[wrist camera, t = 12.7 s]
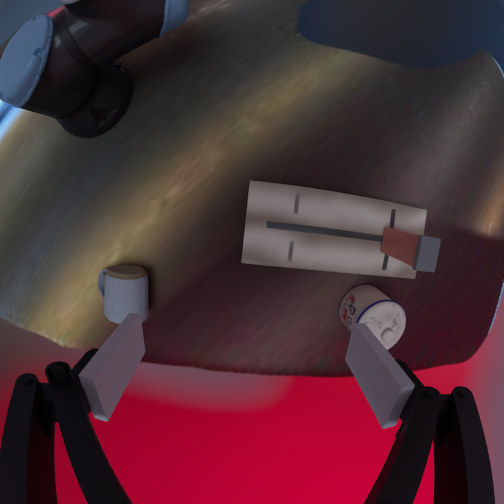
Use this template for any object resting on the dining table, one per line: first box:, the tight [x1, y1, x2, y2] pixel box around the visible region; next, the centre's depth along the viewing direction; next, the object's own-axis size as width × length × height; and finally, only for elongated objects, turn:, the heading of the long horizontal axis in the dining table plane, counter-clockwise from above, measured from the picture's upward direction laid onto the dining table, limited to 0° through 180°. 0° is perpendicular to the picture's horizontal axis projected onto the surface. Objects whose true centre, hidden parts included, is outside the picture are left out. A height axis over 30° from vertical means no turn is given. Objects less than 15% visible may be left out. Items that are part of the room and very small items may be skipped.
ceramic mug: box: [98, 265, 148, 324], centre depth 41 cm, size 11×8×8 cm
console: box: [241, 180, 427, 279], centre depth 41 cm, size 12×30×3 cm, turn 84°
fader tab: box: [381, 227, 441, 272], centre depth 35 cm, size 4×3×11 cm
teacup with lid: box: [339, 285, 406, 350], centre depth 40 cm, size 12×9×12 cm
